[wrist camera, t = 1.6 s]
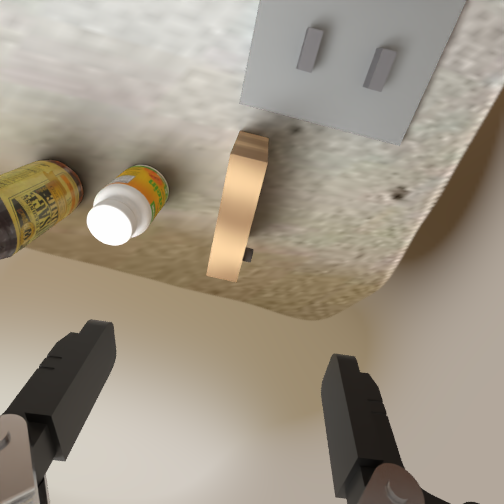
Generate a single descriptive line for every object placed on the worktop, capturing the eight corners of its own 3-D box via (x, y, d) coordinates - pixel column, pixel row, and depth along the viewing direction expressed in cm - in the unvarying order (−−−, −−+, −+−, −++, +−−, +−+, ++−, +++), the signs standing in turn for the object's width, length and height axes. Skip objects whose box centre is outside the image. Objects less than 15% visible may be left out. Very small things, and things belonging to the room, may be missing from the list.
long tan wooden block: (251, 239, 40) (246, 284, 32) (218, 232, 40) (206, 275, 32) (278, 140, 34) (280, 165, 26) (240, 130, 34) (230, 153, 26)
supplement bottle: (175, 205, 38) (149, 248, 30) (132, 212, 39) (94, 256, 31) (160, 159, 35) (126, 192, 27) (114, 168, 36) (67, 202, 28)
